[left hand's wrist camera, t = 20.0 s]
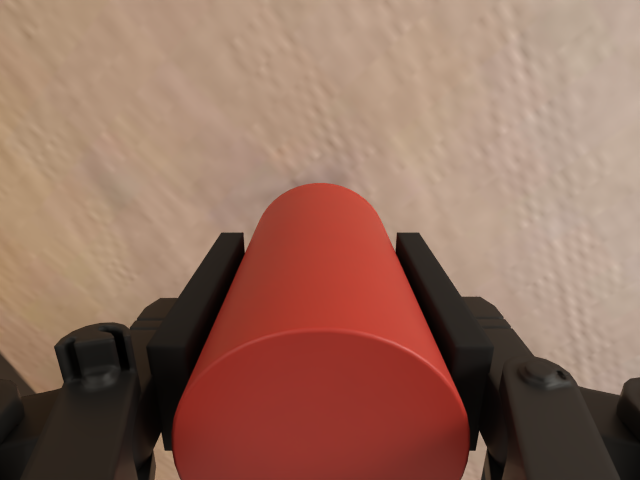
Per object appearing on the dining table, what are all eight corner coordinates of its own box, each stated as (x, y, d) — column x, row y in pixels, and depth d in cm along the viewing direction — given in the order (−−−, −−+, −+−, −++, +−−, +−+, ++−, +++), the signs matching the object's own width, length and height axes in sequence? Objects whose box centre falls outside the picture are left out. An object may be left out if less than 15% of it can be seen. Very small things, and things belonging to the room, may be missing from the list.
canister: (231, 264, 17) (120, 488, 7) (299, 155, 15) (267, 268, 6) (337, 324, 18) (357, 586, 8) (412, 228, 16) (536, 423, 7)
